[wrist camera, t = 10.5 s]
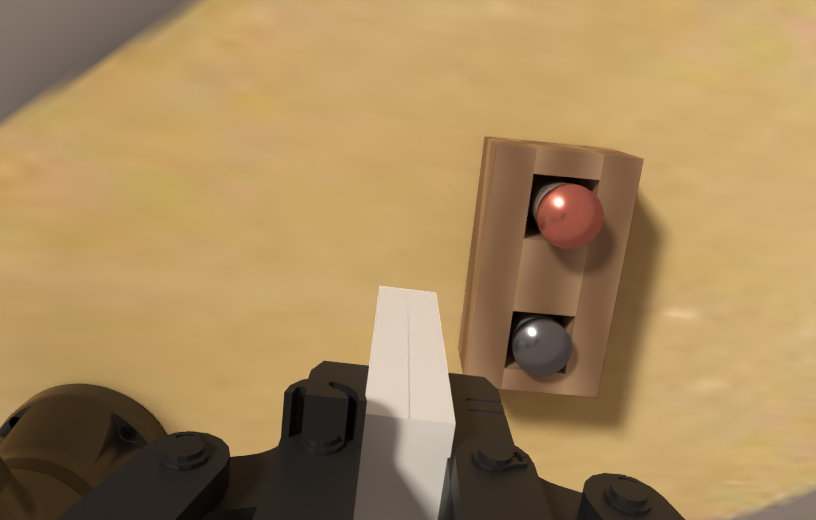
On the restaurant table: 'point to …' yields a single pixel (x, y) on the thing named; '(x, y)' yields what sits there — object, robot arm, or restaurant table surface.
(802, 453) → the restaurant table surface
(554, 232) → the plug red
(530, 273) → the block
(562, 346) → the plug grey
